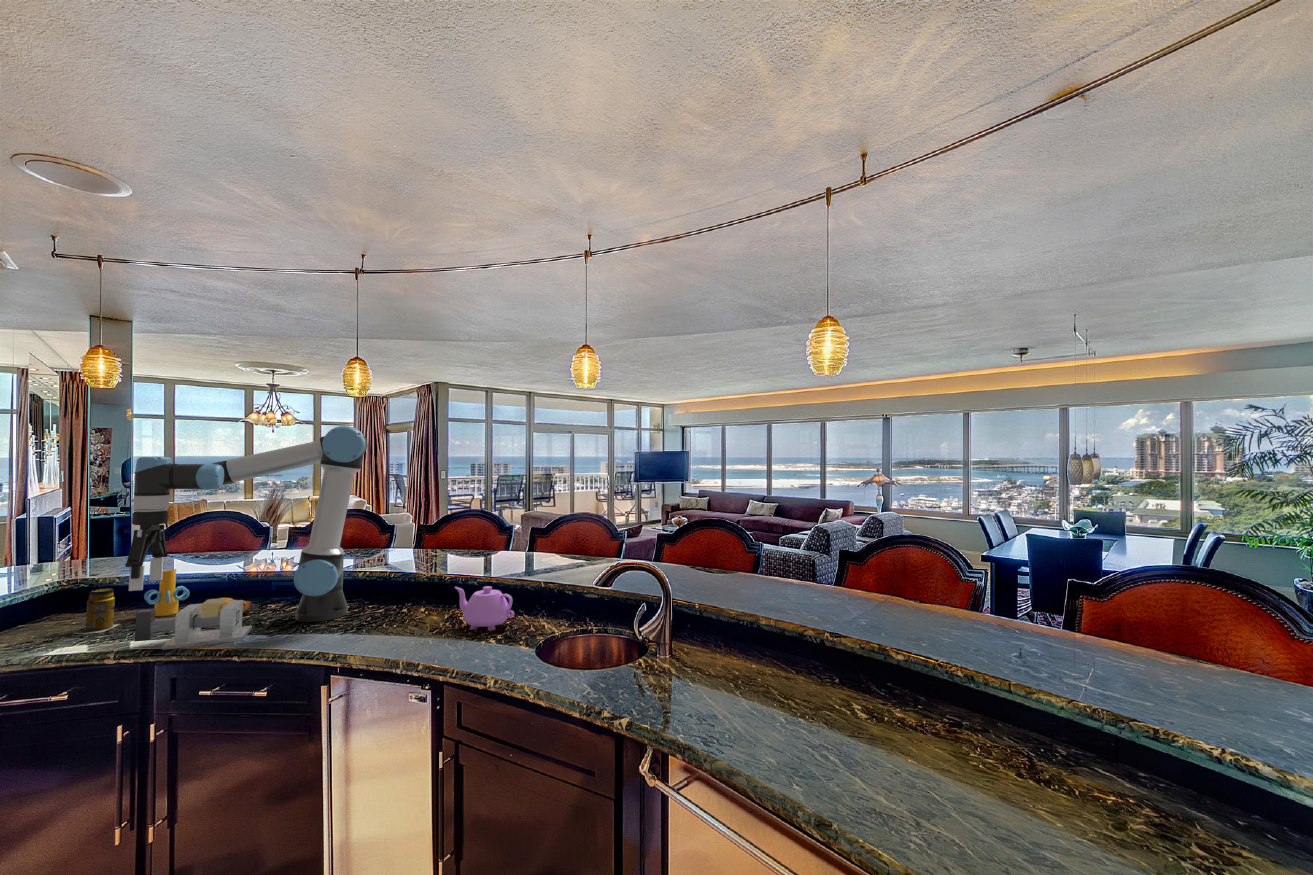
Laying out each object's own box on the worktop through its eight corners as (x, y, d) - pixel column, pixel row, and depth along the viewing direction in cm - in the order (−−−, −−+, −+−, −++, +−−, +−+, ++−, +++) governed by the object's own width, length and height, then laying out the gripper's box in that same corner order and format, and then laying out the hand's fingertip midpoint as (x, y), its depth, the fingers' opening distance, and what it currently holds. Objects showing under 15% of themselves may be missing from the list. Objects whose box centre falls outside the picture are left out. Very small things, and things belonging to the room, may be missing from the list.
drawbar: (238, 627, 161) (239, 600, 161) (235, 630, 158) (236, 603, 158) (139, 638, 151) (141, 609, 151) (134, 641, 148) (136, 612, 148)
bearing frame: (251, 628, 166) (253, 598, 166) (242, 640, 155) (243, 608, 156) (177, 636, 158) (179, 605, 158) (161, 649, 147) (163, 615, 148)
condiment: (120, 624, 170) (122, 586, 170) (103, 632, 162) (105, 592, 163) (90, 626, 167) (92, 588, 168) (72, 635, 159) (74, 594, 160)
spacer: (224, 611, 161) (224, 597, 161) (218, 616, 155) (218, 602, 155) (207, 612, 159) (208, 599, 159) (200, 618, 154) (201, 604, 154)
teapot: (443, 631, 164) (444, 591, 165) (464, 618, 178) (465, 580, 179) (505, 634, 162) (505, 593, 163) (521, 620, 176) (522, 582, 177)
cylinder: (158, 620, 174) (160, 574, 175) (133, 618, 176) (136, 573, 177) (197, 610, 186) (199, 567, 187) (173, 608, 188) (175, 566, 189)
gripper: (151, 507, 161) (147, 577, 160) (112, 514, 139) (107, 596, 138) (183, 506, 165) (179, 575, 164) (150, 513, 142) (145, 593, 141)
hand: (146, 585), depth 151 cm, fingers open, 13 cm apart
